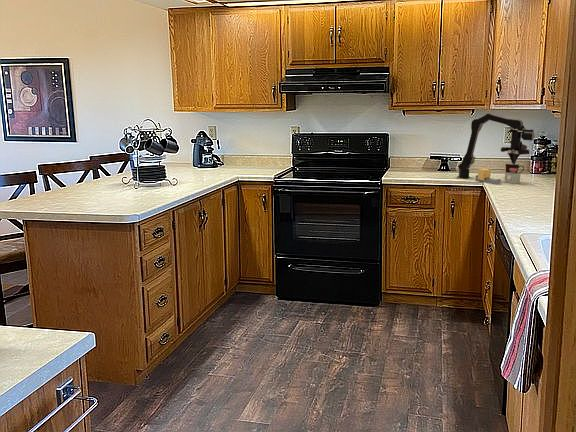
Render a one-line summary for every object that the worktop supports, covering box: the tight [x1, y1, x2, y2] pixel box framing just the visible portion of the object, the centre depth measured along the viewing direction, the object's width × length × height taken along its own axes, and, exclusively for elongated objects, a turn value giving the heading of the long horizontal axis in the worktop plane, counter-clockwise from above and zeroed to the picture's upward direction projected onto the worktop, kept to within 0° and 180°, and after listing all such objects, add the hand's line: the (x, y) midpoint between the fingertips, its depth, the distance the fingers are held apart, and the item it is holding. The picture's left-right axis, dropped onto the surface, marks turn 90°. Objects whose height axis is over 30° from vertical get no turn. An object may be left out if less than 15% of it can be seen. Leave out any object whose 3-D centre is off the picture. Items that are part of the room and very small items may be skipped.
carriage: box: [477, 168, 492, 180], centre depth 383 cm, size 5×6×6 cm
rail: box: [475, 174, 502, 185], centre depth 380 cm, size 19×3×3 cm, turn 26°
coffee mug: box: [505, 162, 525, 174], centre depth 396 cm, size 12×9×10 cm
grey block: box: [504, 172, 521, 184], centre depth 380 cm, size 7×6×6 cm
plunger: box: [510, 168, 517, 174], centre depth 379 cm, size 4×4×6 cm
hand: (513, 164), depth 378 cm, fingers closed
